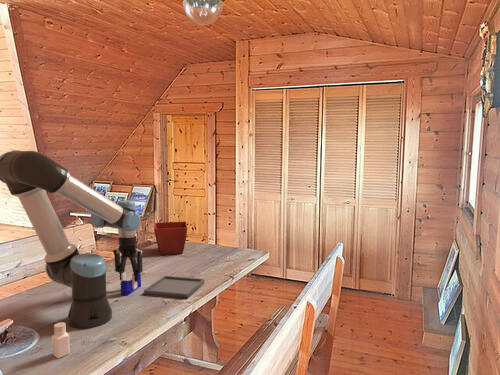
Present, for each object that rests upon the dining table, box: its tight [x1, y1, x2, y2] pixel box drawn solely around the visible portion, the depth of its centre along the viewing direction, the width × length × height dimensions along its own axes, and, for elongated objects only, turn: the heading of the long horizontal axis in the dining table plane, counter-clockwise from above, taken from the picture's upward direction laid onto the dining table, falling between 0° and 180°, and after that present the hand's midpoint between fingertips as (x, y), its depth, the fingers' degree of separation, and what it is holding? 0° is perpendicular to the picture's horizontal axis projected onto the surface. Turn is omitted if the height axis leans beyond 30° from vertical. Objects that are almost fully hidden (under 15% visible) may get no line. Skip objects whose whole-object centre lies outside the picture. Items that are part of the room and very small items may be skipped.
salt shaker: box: [51, 322, 71, 359], centre depth 120 cm, size 4×4×10 cm
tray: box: [143, 275, 205, 300], centre depth 177 cm, size 20×20×2 cm
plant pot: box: [153, 221, 188, 256], centre depth 240 cm, size 19×19×17 cm
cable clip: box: [120, 272, 142, 297], centre depth 175 cm, size 12×4×6 cm, turn 167°
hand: (129, 287), depth 175 cm, fingers closed on cable clip, 5 cm apart
